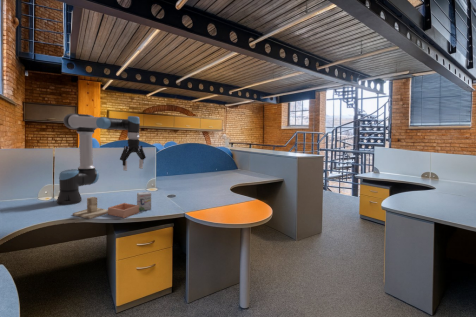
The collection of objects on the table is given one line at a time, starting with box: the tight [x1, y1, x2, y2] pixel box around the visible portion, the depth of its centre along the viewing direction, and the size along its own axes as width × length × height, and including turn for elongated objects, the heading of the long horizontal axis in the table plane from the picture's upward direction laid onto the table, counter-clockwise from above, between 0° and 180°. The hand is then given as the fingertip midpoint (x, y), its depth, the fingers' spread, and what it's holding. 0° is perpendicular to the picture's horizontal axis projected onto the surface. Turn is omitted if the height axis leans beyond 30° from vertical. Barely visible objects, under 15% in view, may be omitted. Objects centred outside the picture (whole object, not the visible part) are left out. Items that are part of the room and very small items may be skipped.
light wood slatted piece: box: [72, 196, 108, 220], centre depth 161 cm, size 15×15×10 cm
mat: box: [72, 213, 108, 220], centre depth 162 cm, size 16×16×1 cm
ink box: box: [136, 191, 152, 211], centre depth 176 cm, size 9×5×12 cm, turn 126°
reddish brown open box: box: [107, 202, 140, 219], centre depth 165 cm, size 13×13×5 cm
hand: (133, 169), depth 178 cm, fingers open, 13 cm apart
